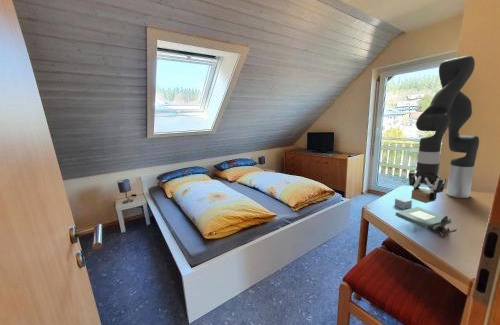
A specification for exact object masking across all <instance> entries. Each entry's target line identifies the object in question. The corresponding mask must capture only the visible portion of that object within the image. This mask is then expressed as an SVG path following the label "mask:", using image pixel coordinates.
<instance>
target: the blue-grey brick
mask: <svg viewBox="0 0 500 325" xmlns="http://www.w3.org/2000/svg"><path fill="white" fill-rule="evenodd" d="M412 205H413V199H409V198H406V197H403V196H401V197H396V198H395V199H394V207H397V206H398V207H397V208H399V207H400V209H402V208H403V209H402V210H407V209H411V208H412ZM410 207H411V208H410ZM406 208H407V209H406Z"/></svg>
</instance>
